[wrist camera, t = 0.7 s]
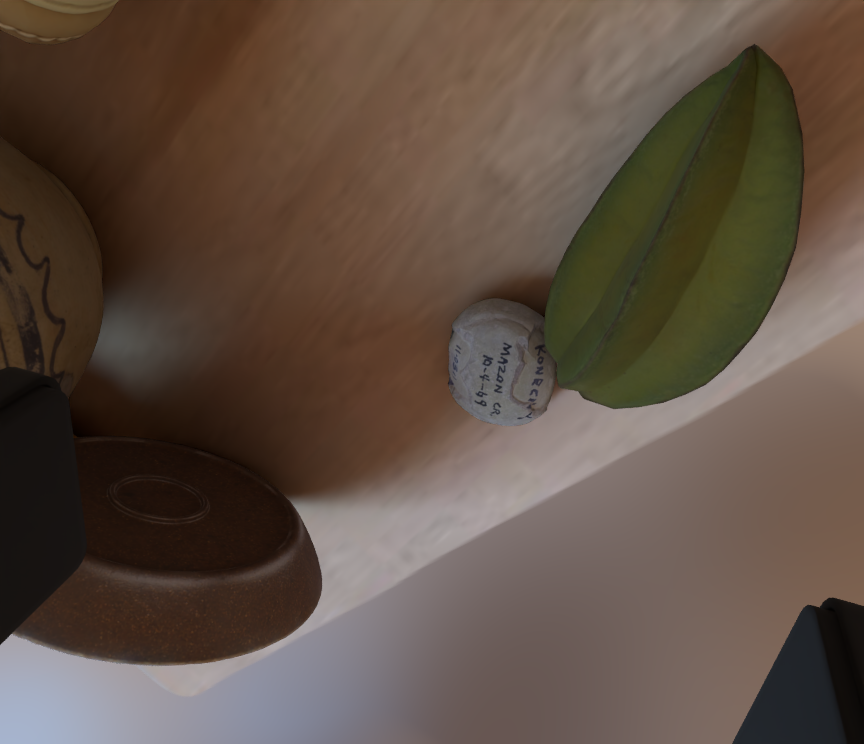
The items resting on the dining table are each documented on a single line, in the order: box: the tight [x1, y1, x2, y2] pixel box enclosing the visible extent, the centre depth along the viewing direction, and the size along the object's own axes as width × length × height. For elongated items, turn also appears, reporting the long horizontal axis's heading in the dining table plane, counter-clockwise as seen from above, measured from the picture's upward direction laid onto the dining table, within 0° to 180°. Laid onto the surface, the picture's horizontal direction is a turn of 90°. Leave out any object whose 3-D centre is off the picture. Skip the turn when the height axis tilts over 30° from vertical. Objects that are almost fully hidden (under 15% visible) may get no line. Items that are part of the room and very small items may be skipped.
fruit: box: [544, 44, 804, 409], centre depth 28 cm, size 11×12×7 cm
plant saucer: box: [12, 436, 322, 666], centre depth 36 cm, size 18×18×3 cm
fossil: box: [448, 298, 556, 426], centre depth 34 cm, size 6×3×5 cm
